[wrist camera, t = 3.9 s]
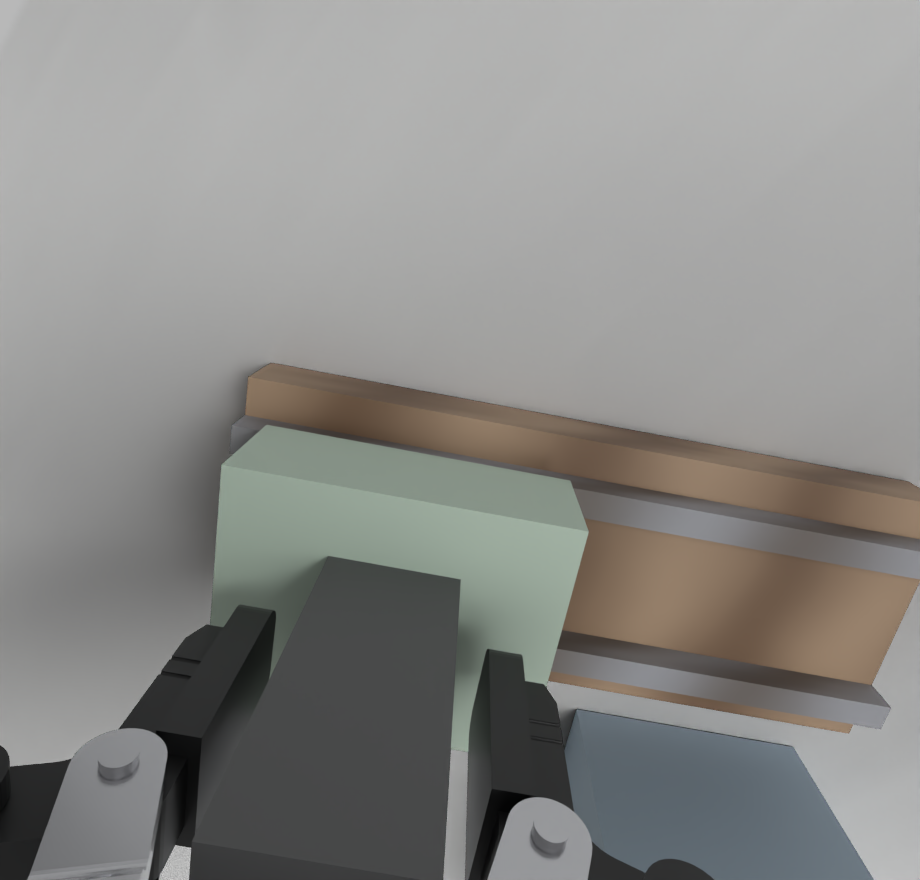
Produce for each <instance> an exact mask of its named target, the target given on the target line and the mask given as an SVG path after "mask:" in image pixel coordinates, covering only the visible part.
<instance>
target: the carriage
mask: <svg viewBox="0 0 920 880" xmlns="http://www.w3.org/2000/svg"><path fill="white" fill-rule="evenodd" d="M588 533H589V531H588V528H587V525H586V523H585V520H584V517H583V514H582V511H581V509H580V506H579V503H578V500H577V498H576V495H575V492H574V489H573V487H572V484H571V481H570V480H564V479H559V478H554V477H548V476H543V475H537V474H532V473H526V472H521V471H516V470H510V469H505V468H499V467H494V466H488V465H483V464H477V463H472V462H467V461H461V460H456V459H450V458H445V457H439V456H434V455H429V454H423V453H418V452H412V451H407V450H401V449H396V448H391V447H385V446H380V445H374V444H369V443H363V442H358V441H353V440H347V439H342V438H336V437H331V436H325V435H320V434H314V433H309V432H304V431H298V430H293V429H287V428H282V427H276V426H271V425H266V426H265V427H263V428H262V429H261V430H260V431H259V432H258V433H257V434H256V435H254V436H253V437H252V438H251V439H250V440H249V441H248V442H247V443H245V444H244V445H243V446H242V447H241V448H240V449H239V450H238V451H236V452H235V453H234V454H233V455H232V456H231V457H230V458H229V459H227V460H226V461H225V462H224V463H223V464H222V465H221V478H220V492H219V506H218V520H217V534H216V548H215V562H214V577H213V591H212V605H211V619H210V625H213V626H219V627H224V626H225V624H226V623H227V621H228V620H229V618H230V617H231V615H232V613H233V612H234V610H235V609H236V608H237V606H238V605H240V604H241V605H246V606H252V607H258V608H263V609H269V610H275V611H276V624H275V634H274V643H273V652H272V661H271V670H270V677H269V681H268V683H267V685H266V687H265V689H264V691H263V693H262V695H261V698H260V700H259V702H258V704H257V706H256V708H255V710H254V712H253V714H252V716H251V719H250V721H249V723H248V725H247V727H246V729H245V731H244V733H243V735H242V737H241V740H240V742H239V744H238V746H237V748H236V750H235V752H234V754H233V756H232V758H231V760H230V763H229V765H228V767H227V769H226V771H225V773H224V775H223V777H222V779H221V781H220V784H219V786H218V788H217V790H216V792H215V794H214V796H213V798H212V800H211V802H210V805H209V807H208V809H207V811H206V813H205V815H204V817H203V819H202V821H201V823H200V826H199V828H198V830H197V832H196V834H195V836H194V838H193V840H192V847H191V861H190V876H189V880H443V872H444V855H445V838H446V822H447V805H448V788H449V771H450V754H451V749H453V750H459V751H464V752H468V743H469V729H470V721H471V715H472V709H473V705H474V700H475V696H476V692H477V688H478V683H479V679H480V675H481V670H482V666H483V662H484V658H485V654H486V651H487V649H493V650H498V651H504V652H510V653H515V654H521V655H522V656H523V664H524V674H525V681H529V682H535V683H540V684H544V685H545V686H546V687H547V683H548V679H549V676H550V672H551V668H552V665H553V661H554V657H555V654H556V650H557V646H558V643H559V639H560V635H561V632H562V628H563V624H564V621H565V617H566V613H567V610H568V606H569V602H570V599H571V595H572V591H573V588H574V584H575V580H576V577H577V573H578V569H579V566H580V562H581V558H582V555H583V551H584V547H585V544H586V540H587V536H588Z"/></svg>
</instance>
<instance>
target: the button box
mask: <svg viewBox="0 0 920 880" xmlns="http://www.w3.org/2000/svg"><path fill="white" fill-rule="evenodd" d="M564 752H565V758H566V764H567V771H568V777H569V783H570V789H571V796H572V802H573V808H574V812H575V813H576V814H577V815H578V817H579V818H580V819H581V820H582V821H583V823H584V824H585V826H586V827H587V829H588V831H589V834H590V837H591V840H592V842H593V843H594V844H595V845H596V846H598V847H599V848H600V849H601V850H603V851H604V852H605V853H607V854H608V855H610V856H612V857H614V858H616V859H618V860H620V861H622V862H624V863H626V864H628V865H630V866H632V867H634V868H636V869H638V870H641V871H643V872H645V873H646V871H647V870H648V868H649V867H650V866H651V865H652V864H653V863H655V862H657V861H659V860H662V859H678V860H682V861H685V862H688V863H690V864H692V865H695V866H696V867H698V868H700V869H701V870H703V871H704V872H706V873H707V874H708V875H710V876H711V877H712V878H713V879H714V880H874V879H873V878H872V876H871V874H870V873H869V871H868V870H867V868H866V866H865V865H864V863H863V861H862V860H861V858H860V856H859V855H858V853H857V851H856V850H855V848H854V846H853V845H852V843H851V842H850V840H849V838H848V837H847V835H846V833H845V832H844V830H843V828H842V827H841V825H840V823H839V822H838V820H837V819H836V817H835V815H834V814H833V812H832V810H831V809H830V807H829V805H828V804H827V802H826V800H825V799H824V797H823V795H822V794H821V792H820V791H819V789H818V787H817V786H816V784H815V782H814V781H813V779H812V777H811V776H810V774H809V772H808V771H807V769H806V768H805V766H804V764H803V763H802V761H801V759H800V758H799V756H798V754H797V753H796V751H795V749H794V748H793V747H790V746H784V745H778V744H773V743H767V742H761V741H756V740H750V739H744V738H738V737H733V736H727V735H721V734H715V733H710V732H704V731H698V730H693V729H687V728H681V727H675V726H670V725H664V724H658V723H652V722H647V721H641V720H635V719H630V718H624V717H618V716H612V715H607V714H601V713H595V712H589V711H584V710H578V709H577V710H576V713H575V717H574V720H573V723H572V727H571V730H570V733H569V737H568V740H567V744H566V747H565V750H564Z"/></svg>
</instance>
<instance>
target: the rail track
mask: <svg viewBox="0 0 920 880" xmlns="http://www.w3.org/2000/svg"><path fill="white" fill-rule="evenodd" d="M266 425H271V426H276V427H282V428H287V429H293V430H298V431H304V432H309V433H314V434H320V435H325V436H331V437H336V438H342V439H347V440H353V441H358V442H363V443H369V444H374V445H380V446H385V447H391V448H396V449H401V450H407V451H412V452H418V453H423V454H429V455H434V456H439V457H445V458H450V459H456V460H461V461H467V462H472V463H477V464H483V465H488V466H494V467H499V468H505V469H510V470H516V471H521V472H526V473H532V474H537V475H543V476H548V477H554V478H559V479H564V480H570V481H571V484H572V487H573V489H574V492H575V495H576V498H577V500H578V503H579V506H580V509H581V511H582V514H583V517H584V520H585V523H586V525H587V528H588V531H589V533H588V536H587V540H586V544H585V547H584V551H583V555H582V558H581V562H580V566H579V569H578V573H577V577H576V580H575V584H574V588H573V591H572V595H571V599H570V602H569V606H568V610H567V613H566V617H565V621H564V624H563V628H562V632H561V635H560V639H559V643H558V646H557V650H556V654H555V657H554V661H553V665H552V668H551V672H550V676H549V679H548V681H553V682H558V683H564V684H570V685H575V686H581V687H587V688H592V689H598V690H604V691H609V692H615V693H621V694H627V695H632V696H638V697H644V698H649V699H655V700H661V701H666V702H672V703H678V704H684V705H689V706H695V707H701V708H706V709H712V710H718V711H723V712H729V713H735V714H740V715H746V716H752V717H758V718H763V719H769V720H775V721H780V722H786V723H792V724H797V725H803V726H809V727H814V728H820V729H826V730H832V731H837V732H843V733H849V732H850V730H851V728H852V726H853V725H859V726H865V727H870V728H876V729H881V728H882V726H883V724H884V722H885V720H886V718H887V716H888V713H889V711H890V709H891V707H890V706H889V705H888V704H887V702H886V701H885V700H884V699H883V698H882V697H881V695H880V694H879V693H878V692H877V691H876V690H875V689H874V687H873V686H872V683H873V681H874V679H875V676H876V674H877V672H878V670H879V668H880V666H881V664H882V661H883V659H884V657H885V655H886V653H887V651H888V649H889V646H890V644H891V642H892V640H893V638H894V636H895V634H896V631H897V629H898V627H899V625H900V623H901V621H902V619H903V616H904V614H905V612H906V610H907V608H908V606H909V603H910V601H911V599H912V597H913V595H914V593H915V591H916V588H917V586H918V584H919V582H920V488H919V487H917V486H915V485H913V484H912V483H910V482H907V481H902V480H897V479H891V478H886V477H881V476H875V475H870V474H865V473H859V472H854V471H848V470H843V469H838V468H832V467H827V466H822V465H816V464H811V463H806V462H800V461H795V460H789V459H784V458H779V457H773V456H768V455H763V454H757V453H752V452H747V451H741V450H736V449H731V448H725V447H720V446H714V445H709V444H704V443H698V442H693V441H688V440H682V439H677V438H672V437H666V436H661V435H656V434H650V433H645V432H639V431H634V430H629V429H623V428H618V427H613V426H607V425H602V424H597V423H591V422H586V421H580V420H575V419H570V418H564V417H559V416H554V415H548V414H543V413H538V412H532V411H527V410H522V409H516V408H511V407H505V406H500V405H495V404H489V403H484V402H479V401H473V400H468V399H463V398H457V397H452V396H447V395H441V394H436V393H430V392H425V391H420V390H414V389H409V388H404V387H398V386H393V385H388V384H382V383H377V382H371V381H366V380H361V379H355V378H350V377H345V376H339V375H334V374H329V373H323V372H318V371H313V370H307V369H302V368H296V367H291V366H286V365H280V364H275V363H270V364H268V365H267V366H265V367H263V368H262V369H260V370H259V371H257V372H255V373H254V374H252V375H250V376H249V377H248V385H247V397H246V410H245V415H244V416H243V417H242V418H240V419H239V420H238V421H237V422H235V423H234V424H233V425H232V427H231V441H230V454H234V453H235V452H236V451H238V450H239V449H240V448H241V447H242V446H243V445H244V444H245V443H247V442H248V441H249V440H250V439H251V438H252V437H253V436H254V435H256V434H257V433H258V432H259V431H260V430H261V429H262V428H263V427H265V426H266Z"/></svg>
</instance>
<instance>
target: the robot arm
mask: <svg viewBox="0 0 920 880" xmlns="http://www.w3.org/2000/svg"><path fill="white" fill-rule="evenodd" d="M275 624H276V611H275V610H269V609H263V608H258V607H252V606H246V605H241V604H240V605H238V606H237V608H236V609H235V610H234V612H233V613H232V615H231V617H230V618H229V620H228V621H227V623H226V624H225V626H224V627H219V626H213V625H205V626H204V627H202V628H201V629H199V630H197V631H196V632H194V633H193V634H191V635H190V636H188V637H186V638H185V639H184V641H183V642H182V643H181V645H180V646H179V648H178V649H177V650H176V652H175V653H174V654H173V656H172V659H171V660H169V661H168V663H167V664H166V665H165V667H164V668H163V669H162V671H161V674H160V675H158V676H157V678H156V679H155V680H154V682H153V683H152V684H151V686H150V687H149V689H148V690H147V691H146V693H145V694H144V695H143V697H142V698H141V699H140V701H139V702H138V704H137V705H136V706H135V708H134V709H133V710H132V712H131V713H130V714H129V716H128V717H127V719H126V720H125V721H124V723H123V724H122V725H121V727H120V728H119V729H118V730H114V731H110V732H107V733H104V734H102V735H100V736H97V737H95V738H94V739H92V740H90V741H89V742H87V743H86V744H85V745H83V746H82V747H81V748H80V749H79V750H78V751H77V752H76V753H75V755H74V756H73V758H72V759H69V760H65V761H60V762H53V763H44V764H33V765H23V766H12V767H10V761H9V756H8V753H7V751H6V750H5V749H4V748H3V747H2V746H0V880H161V872H162V870H163V868H164V866H165V864H166V862H167V860H168V858H169V856H170V854H171V852H172V850H173V848H174V846H175V845H179V846H185V847H192V840H193V838H194V836H195V834H196V832H197V830H198V828H199V826H200V823H201V821H202V819H203V817H204V815H205V813H206V811H207V809H208V807H209V805H210V802H211V800H212V798H213V796H214V794H215V792H216V790H217V788H218V786H219V784H220V781H221V779H222V777H223V775H224V773H225V771H226V769H227V767H228V765H229V763H230V760H231V758H232V756H233V754H234V752H235V750H236V748H237V746H238V744H239V742H240V740H241V737H242V735H243V733H244V731H245V729H246V727H247V725H248V723H249V721H250V719H251V716H252V714H253V712H254V710H255V708H256V706H257V704H258V702H259V700H260V698H261V695H262V693H263V691H264V689H265V687H266V685H267V683H268V681H269V677H270V670H271V661H272V652H273V643H274V634H275ZM562 742H563V740H562V733H561V728H560V721H559V715H558V708H557V703H556V702H555V700H554V699H553V697H552V696H551V694H550V693H549V691H548V690H547V688H546V686H545V685H544V684H540V683H535V682H529V681H525V674H524V664H523V656H522V655H521V654H515V653H510V652H504V651H498V650H493V649H487V651H486V654H485V658H484V662H483V666H482V670H481V675H480V679H479V683H478V688H477V692H476V696H475V700H474V705H473V709H472V715H471V721H470V729H469V743H468V782H467V822H466V862H465V880H714V879H713V878H712V877H711V876H710V875H708V874H707V873H706V872H704V871H703V870H701V869H700V868H698V867H696V866H695V865H692V864H690V863H688V862H685V861H682V860H678V859H662V860H659V861H657V862H655V863H653V864H652V865H651V866H650V867H649V868H648V870H647V871H646V873H645V872H643V871H641V870H638V869H636V868H634V867H632V866H630V865H628V864H626V863H624V862H622V861H620V860H618V859H616V858H614V857H612V856H610V855H608V854H607V853H605V852H604V851H603V850H601V849H600V848H599V847H598V846H596V845H595V844H594V843H593V842H592V840H591V837H590V834H589V831H588V829H587V827H586V826H585V824H584V823H583V821H582V820H581V819H580V818H579V817H578V815H577V814H576V813H575V812H574V808H573V802H572V796H571V789H570V783H569V777H568V771H567V764H566V758H565V752H564V746H563V745H562Z"/></svg>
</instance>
